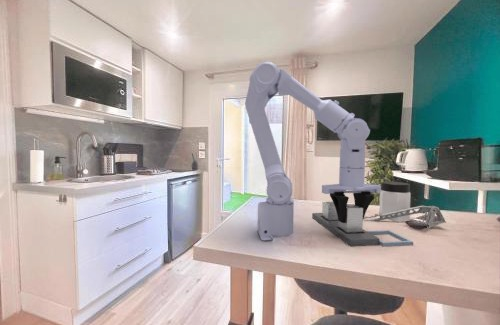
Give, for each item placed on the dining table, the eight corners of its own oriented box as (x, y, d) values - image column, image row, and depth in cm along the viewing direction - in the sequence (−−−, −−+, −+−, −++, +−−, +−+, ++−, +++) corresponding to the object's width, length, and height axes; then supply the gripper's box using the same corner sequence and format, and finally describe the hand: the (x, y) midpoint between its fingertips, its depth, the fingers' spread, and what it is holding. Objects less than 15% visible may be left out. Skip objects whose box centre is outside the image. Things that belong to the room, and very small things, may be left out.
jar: (395, 214, 79) (396, 181, 79) (415, 221, 71) (417, 184, 71) (373, 215, 78) (374, 181, 77) (391, 222, 70) (392, 185, 69)
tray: (382, 250, 50) (382, 242, 50) (362, 238, 57) (362, 231, 57) (413, 249, 51) (413, 241, 50) (389, 236, 58) (389, 230, 58)
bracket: (446, 223, 63) (430, 191, 64) (373, 249, 67) (358, 220, 68) (439, 220, 66) (423, 189, 67) (369, 245, 71) (355, 217, 71)
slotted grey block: (328, 225, 64) (328, 204, 63) (322, 221, 68) (322, 201, 67) (341, 225, 64) (341, 204, 64) (334, 221, 68) (335, 201, 68)
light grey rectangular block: (346, 232, 54) (347, 207, 53) (338, 227, 58) (339, 203, 57) (362, 232, 54) (363, 207, 54) (353, 226, 58) (353, 203, 58)
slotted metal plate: (350, 250, 50) (350, 239, 50) (312, 220, 72) (312, 213, 71) (379, 249, 50) (379, 238, 50) (332, 220, 72) (333, 212, 72)
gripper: (331, 169, 50) (330, 227, 51) (390, 169, 52) (388, 226, 53) (318, 166, 57) (317, 218, 58) (371, 167, 59) (369, 217, 60)
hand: (350, 221), depth 56 cm, fingers closed on light grey rectangular block, 4 cm apart
